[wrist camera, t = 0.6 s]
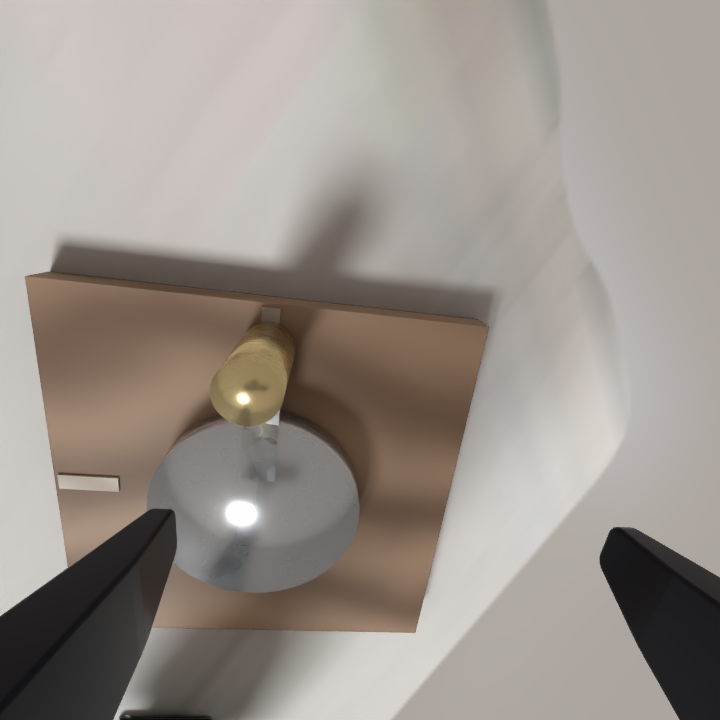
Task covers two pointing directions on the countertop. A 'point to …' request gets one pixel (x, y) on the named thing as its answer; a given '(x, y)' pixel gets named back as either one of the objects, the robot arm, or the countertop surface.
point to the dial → (257, 479)
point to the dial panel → (302, 397)
